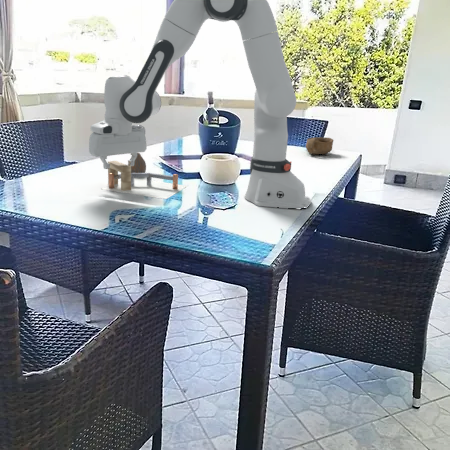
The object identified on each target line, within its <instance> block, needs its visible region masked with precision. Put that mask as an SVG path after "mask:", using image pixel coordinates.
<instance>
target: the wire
mask: <svg viewBox="0 0 450 450" xmlns="http://www.w3.org/2000/svg"><path fill="white" fill-rule="evenodd" d="M134 178H146V180H147V185H151V180H152V178H153V179H158V180H159V179H160V180H166V181H167V180H169V181H172V183H173V189H178V184H179V174H177V173H173V174H172V175H169V174H168V175H167V174H166V175H165V174H159V173H152V172H145V173H131V185H134ZM114 179H118V180H119V179H120V180H121V173H118V175H114V173H109V184H108V186H109V188H110V189H113V188H114Z"/></svg>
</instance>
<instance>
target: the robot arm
mask: <svg viewBox="0 0 450 450" xmlns="http://www.w3.org/2000/svg"><path fill="white" fill-rule="evenodd" d="M209 19H210V20H214V21H218V22H223V23H224V22H225V23H226V22H229V21H234V22H235V23H236V24H237V26H238V28H239V31H240V36H241V39H242V44H243V47H244V52H245V56H246V60H247V65H248V68H249V71H250V73H251V76H252V80H253V83H254V85H255V92H254V102H253V103H254V106H253V107H254V108H253V109H254V110H253V112H254V117H253V119H254V120H253V121H254V123H253V125H254V129H253V130H254V132H253V133H254V134H253V148H252V156H251V159H250V166H249V172H250V176H249V182H248V185H247V189H246V191H245V195H244V199H245V200H247V201H249V202H251V203H253V204H254V205H255V206H259V207H265V208H266V207H268V208H277V207H279V208H280V209H288V208H304V207H307V206H308V205H309V204H310V203H312V199H311V198H310V197H309V196H307V195H306V188H305V185H304V182H303V181H302V180H301V179H299V178H298V177H297V176H296V175H295V174H294V173H292V171H291V170H292V161H290V160H288V159H287V149H288V142H289V141H288V140H289V133H288V118H287V117H288V116H289V115H291V114H292V113H293V112H294V110H295V109H296V105H297V96H296V93H295V89H294V86H293V83H292V80H291V77H290V73H289V70H288V67H287V64H286V62H285V58H284V53H283V50H282V45H281V41H280V36H279V31H278V27H277V22H276V20H275V16H274V14H273V11H272V8H271V5H270V3H269V2H268V0H173V1H172V2H171V4H170V5H169V8H168V10H167V11H166V13H165V15H164V18H163V19H162V22H161V24H160V26H159V29H158V31H157V34H156V38H155V40H154V43H153V46H152V48H151V50H150V53H149V55H148V57H147V59H146V61H145V63H144V65H143V67H142V69H141V71H140V73H139V74H138V76H137V77H136V78H137V79H136V80H134V79H133V78H131V76H129V75H127V74H123V75H122V74H121V75H116V76H115V75H114V76H110V77H108V78H107V79H106V80H105V84H104V92H103V93H104V96H103V98H104V99H103V102H104V103H103V104H104V107H105V113H104V119H103V120H101V121H98V122H96V123H93V124H91V125H90V131H91V133H90V136H89V141H88V152H89V154H90V156H92V157H95V158H97V157H98V158H99V159H100V161H101V162H102V165H103V166H102V167H103V169H105V170H108V169H110V164H109V163H108V161H107V159H108V156H109V157H110V156H120V155H128V154H129V155H130V159H129V160H127V165H129V166H134V161H135V159H136V157H137V153H145V152H146V151H147V138H146V128H145V127H144V126H143V125H141V123H144V122H146V121H147V120H148V119H150V118H152V117H153V116H155V115H156V114H157V113H159V111H160V110H161V106H162V99H161V96H160V94H159V92H157V88H158V87H159V85H160V83H161V81H162V79H163V77H164V75H165V73H166V72H167V70H168V69H169V68H170V66H172V64H174V63H175V62H176V61H178V60H179V59H181V58H182V57H184V56H185V55H186V54H187V53H188V51H189V50H190V49H191V46H192V45H193V44H194V42H195V40H196V38H197V36H198V34H199V32H200V30H201V29H202V28H201V27H202V26H203V25H204V23H205V22H206V21H207V20H209ZM133 124H134V125H133ZM135 124H136V125H135Z"/></svg>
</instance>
